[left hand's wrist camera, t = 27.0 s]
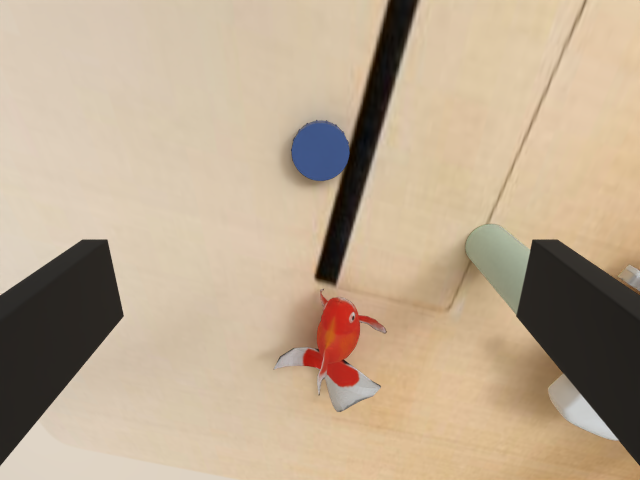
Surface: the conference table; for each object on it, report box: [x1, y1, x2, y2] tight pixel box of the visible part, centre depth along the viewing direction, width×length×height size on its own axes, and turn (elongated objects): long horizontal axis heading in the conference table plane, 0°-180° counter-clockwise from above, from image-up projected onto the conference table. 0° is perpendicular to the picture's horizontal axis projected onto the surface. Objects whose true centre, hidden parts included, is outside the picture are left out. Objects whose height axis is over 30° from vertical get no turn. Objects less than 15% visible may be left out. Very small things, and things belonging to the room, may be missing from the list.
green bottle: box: [465, 224, 530, 315], centre depth 34 cm, size 4×4×16 cm
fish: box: [273, 289, 386, 412], centre depth 42 cm, size 11×16×10 cm
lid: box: [291, 120, 350, 181], centre depth 37 cm, size 5×5×2 cm
